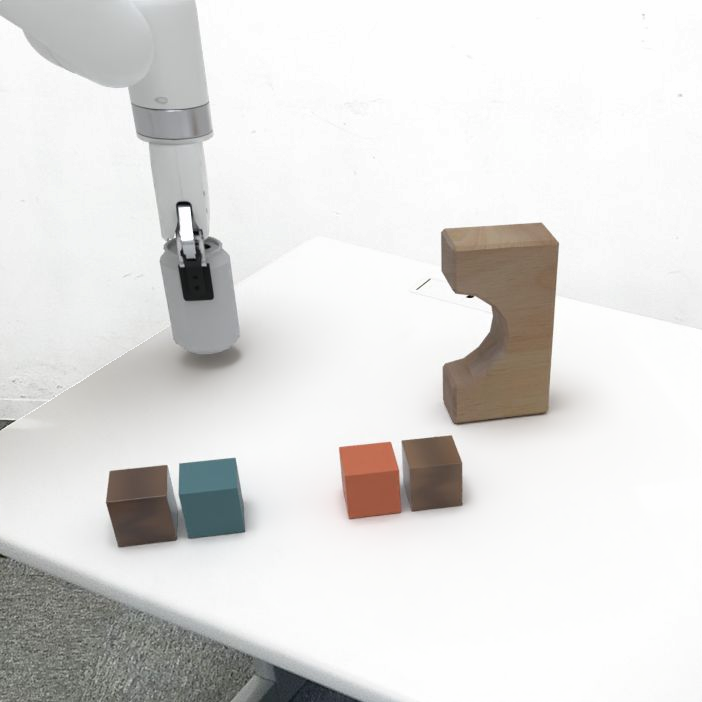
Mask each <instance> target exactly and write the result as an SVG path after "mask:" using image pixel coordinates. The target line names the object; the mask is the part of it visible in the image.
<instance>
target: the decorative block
mask: <svg viewBox="0 0 702 702" xmlns="http://www.w3.org/2000/svg"><path fill="white" fill-rule="evenodd" d="M559 250H560V242H559V240H557V239H556V237H555V236H554V235H553V233H551V231H550V230H549V229H548V228H547V226H546V225H545V224H544V223H543V222H528V223H527V222H526V223H513V224H511V223H510V224H497V225H480V226H464V227H463V226H461V227H448V228H446V227H445V228H443V230H442V231H441V232H440V257H441V259H440V260H441V263H440V264H441V265H440V266H441V269H440V270H441V273H442V275H443V276H444V278H445V279H446V282H447V284H448V285H449V287H450V288H451V290H452V291H453V293H454V294H455V295H463V296H470V297H476V298H478V299H479V300H481V301H482V302H484V303H486V304H487V305H489V306H490V307H491V312H492V313H491V314H492V318H491V323H490V329H489V331H488V333H487V335H486V336H485V337H484V339H483V340H482V342H480V344H479V345H478V346H477V347H476V348H475V349H473V350H472V351H470V352H469V353H468V354H467V355H465V356H464V357H462V358H459V359H456V360H452V361H449V362H445V364H443V366H442V401H443V402H444V405H445V408H446V410H447V411H448V413H449V416H450V418H451V420H452V422H454V423H455V424H463V423H471V422H478V421H479V422H480V421H488V420H494V419H505V418H515V417H521V416H531V415H538V414H545V413H547V411H548V410H549V400H550V385H551V369H552V357H553V356H552V355H553V342H554V327H555V312H556V311H555V310H556V294H557V279H558V267H559V266H558V265H559V252H560V251H559Z"/></svg>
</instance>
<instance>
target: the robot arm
mask: <svg viewBox="0 0 702 702" xmlns="http://www.w3.org/2000/svg"><path fill="white" fill-rule="evenodd" d="M0 17H2V18H3V19H5V20H6V21H8V22H10V23H11V24H13V25H14V26H16V27H18V28H19V29H21V30H22V32H23V34H24V35H23V36H24V37H25V39H26V40H27V42H28V43H29V45H30V46H31V47H32V48H33V49H34V51H35V52H36V53H38V54H39V56H41V57H42V58H44V59H45V60H46V61H48V62H50V63H51V64H53V65H55V66H57V67H59V68H62V69H63V70H66V71H68V72H70V73H72V74H75V75H78V76H80V77H82V78H84V79H87V80H88V81H90V82H93V83H94V84H97V85H98V86H102V87H106V88H111V89H124V88H127V89H128V95H129V101H130V106H131V111H132V117H133V122H134V123H133V124H134V127H135V134H136V137H137V138H138V139H139V140H140V141H143V142H145V143H147V144H148V152H149V162H150V169H151V176H152V182H153V188H154V194H155V201H156V208H157V215H158V220H159V227H160V228H159V229H160V235H161V238H162V240H164V241H165V242H167V241H169V240H171V239H173V238H176V242H177V250H178V258H179V264H178V269H179V275H180V281H181V287H182V293H183V298H184V300H185V301H202V300H213V299H214V292H213V285H212V278H211V272H210V265H209V263H207V262H206V254H205V246H204V240H205V239H207V238H208V237H210V221H211V220H210V219H211V216H210V213H211V211H210V210H211V209H210V193H209V182H208V174H207V166H206V164H207V163H206V158H205V157H206V156H205V149H204V142H206V141H209V140H211V139H212V138H213V137H214V135H215V134H214V133H215V132H214V126H213V120H212V118H213V117H212V111H211V105H210V98H209V97H210V96H209V89H208V83H207V82H208V81H207V75H206V68H205V67H206V66H205V59H204V51H203V45H202V38H201V30H200V23H199V16H198V9H197V3H196V0H0ZM195 243H199V248H198V247H195Z"/></svg>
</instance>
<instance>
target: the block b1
mask: <svg viewBox="0 0 702 702" xmlns="http://www.w3.org/2000/svg"><path fill="white" fill-rule="evenodd" d="M107 481H108V482H107V490H106V498H105V505H106V509H107V513H108V515H109V518H110V521H111V522H110V523H111V527H112V530H113V533H114V536H115V540H116V544H117V547H119V548H121V547H128V546H129V547H130V546H136V545H137V546H138V545H145V544H153V543H162V542H170V541H176V540H177V539H178V504H177V500H176V496H175V492H174V487H173V483H172V478H171V473H170V469H169V466H168V464H161V465H152V466H142V467H134V468H124V469H114V470H109V473H108V480H107Z"/></svg>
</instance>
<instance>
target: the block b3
mask: <svg viewBox="0 0 702 702" xmlns="http://www.w3.org/2000/svg"><path fill="white" fill-rule="evenodd" d="M338 452H339V453H338V454H339V463H340V473H341V475H340V476H341V484H342V485H341V486H342V491H343V496H344V502H345V506H346V512H347V516H348V519H349V520H350V519H360V518H366V517H375V516H383V515H391V514H399V513H402V505H401V504H402V503H401V502H402V501H401V482H400V479H401V478H400V468H399V464H398V461H397V457H396V455H395V450H394V447H393V444H392V442H391V441H383V442H373V443H363V444H354V445H346V446H345V445H344V446H339V447H338Z"/></svg>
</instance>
